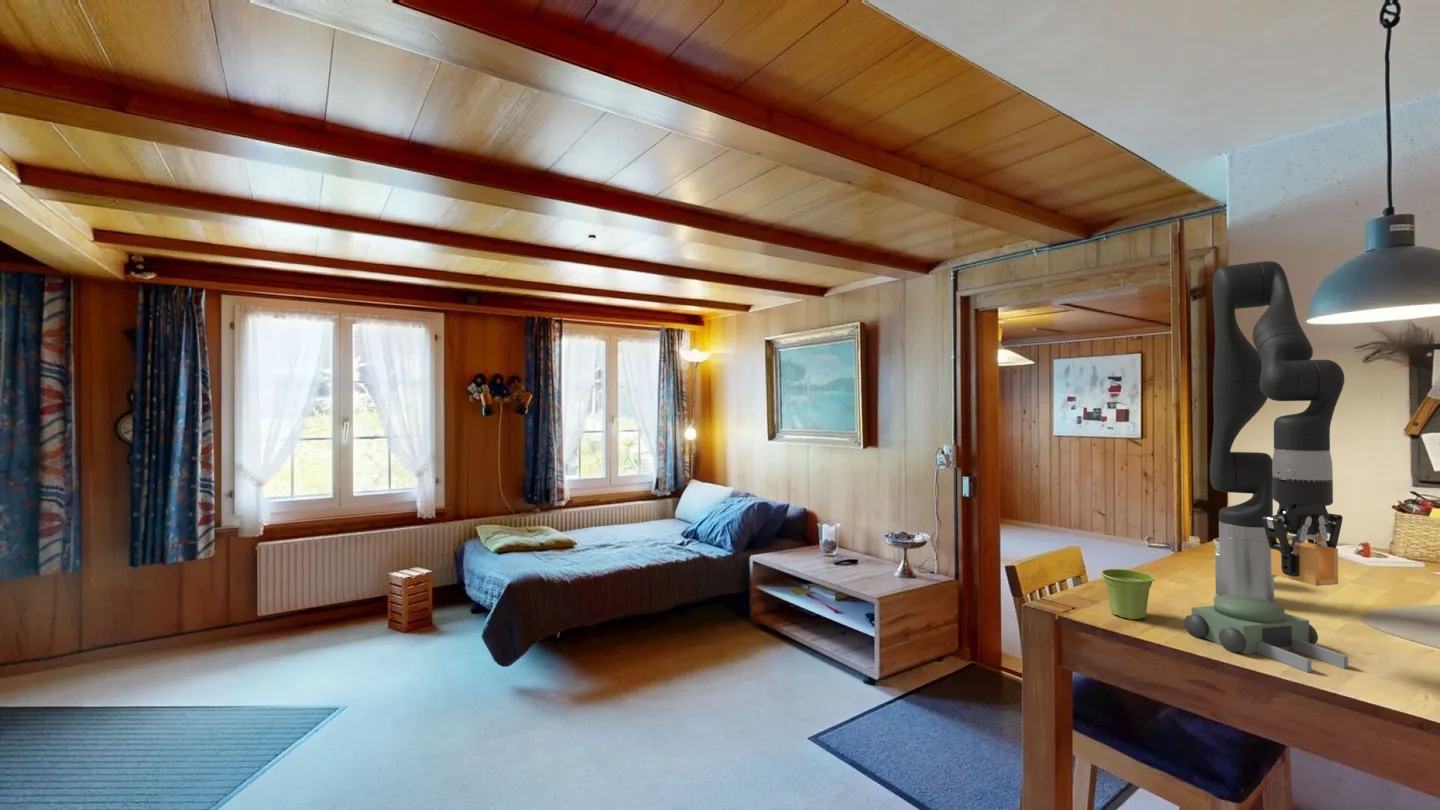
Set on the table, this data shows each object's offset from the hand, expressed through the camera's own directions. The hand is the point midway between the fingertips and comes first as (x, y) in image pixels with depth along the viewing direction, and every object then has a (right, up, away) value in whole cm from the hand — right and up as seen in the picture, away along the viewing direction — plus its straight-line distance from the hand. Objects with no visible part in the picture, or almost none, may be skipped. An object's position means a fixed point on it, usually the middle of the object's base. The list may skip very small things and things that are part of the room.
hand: (1303, 573), depth 104 cm
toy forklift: (-1, -15, +6) cm, 16 cm away
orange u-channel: (0, -1, 0) cm, 1 cm away
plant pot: (-14, -16, +24) cm, 32 cm away
